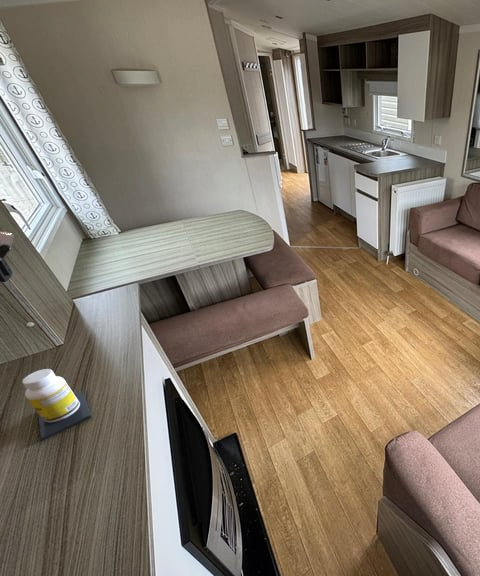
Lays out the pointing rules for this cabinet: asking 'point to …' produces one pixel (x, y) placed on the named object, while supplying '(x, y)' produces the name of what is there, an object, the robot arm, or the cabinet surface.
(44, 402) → the supplement bottle
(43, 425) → the mat
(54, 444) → the cabinet surface
